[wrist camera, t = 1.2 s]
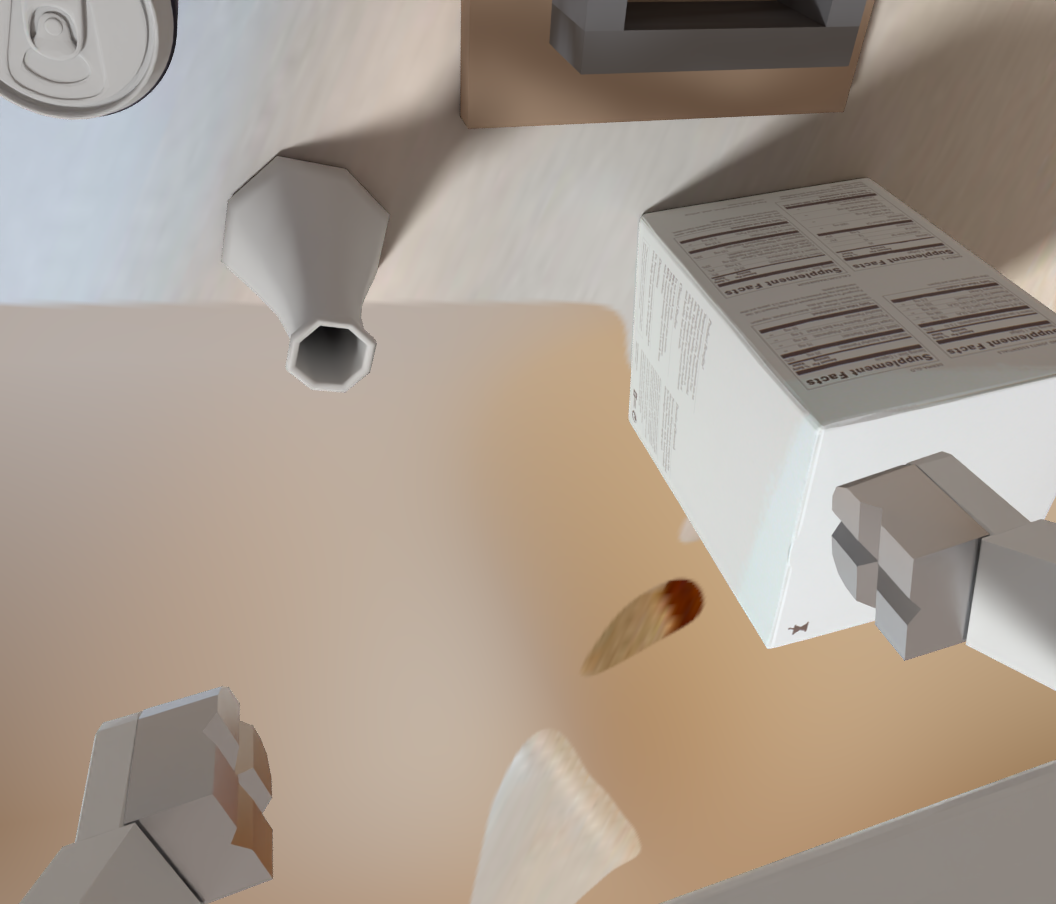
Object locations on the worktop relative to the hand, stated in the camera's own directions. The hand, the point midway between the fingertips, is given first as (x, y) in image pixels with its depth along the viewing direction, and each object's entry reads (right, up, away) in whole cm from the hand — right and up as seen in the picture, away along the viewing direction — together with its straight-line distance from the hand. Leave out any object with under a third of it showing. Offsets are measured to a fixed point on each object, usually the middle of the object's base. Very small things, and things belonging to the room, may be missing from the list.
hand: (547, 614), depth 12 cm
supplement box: (+12, +10, +38) cm, 41 cm away
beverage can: (-15, +20, +19) cm, 32 cm away
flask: (-10, +12, +28) cm, 32 cm away
